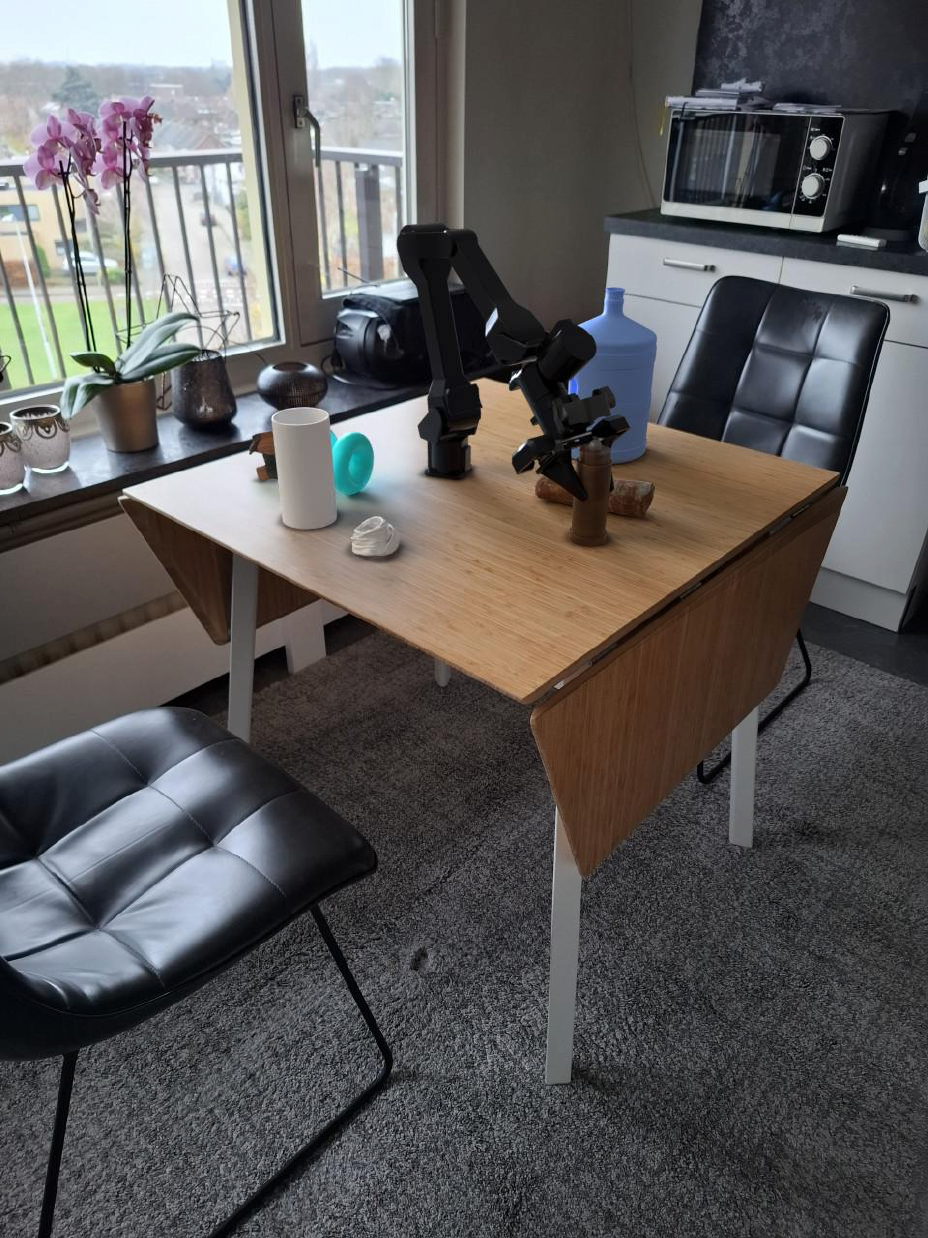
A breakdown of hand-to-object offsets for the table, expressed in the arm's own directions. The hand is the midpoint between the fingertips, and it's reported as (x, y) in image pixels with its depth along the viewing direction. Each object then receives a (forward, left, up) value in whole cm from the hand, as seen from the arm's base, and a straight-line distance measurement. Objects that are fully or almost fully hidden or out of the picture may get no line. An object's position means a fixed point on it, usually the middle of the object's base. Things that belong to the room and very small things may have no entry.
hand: (598, 495), depth 124 cm
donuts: (-44, +4, -7) cm, 45 cm away
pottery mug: (-56, +6, -7) cm, 57 cm away
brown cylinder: (-4, +11, -7) cm, 14 cm away
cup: (-42, -8, -7) cm, 44 cm away
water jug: (-8, +38, -7) cm, 39 cm away
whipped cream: (-28, -14, -7) cm, 33 cm away
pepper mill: (-1, +1, -7) cm, 7 cm away
